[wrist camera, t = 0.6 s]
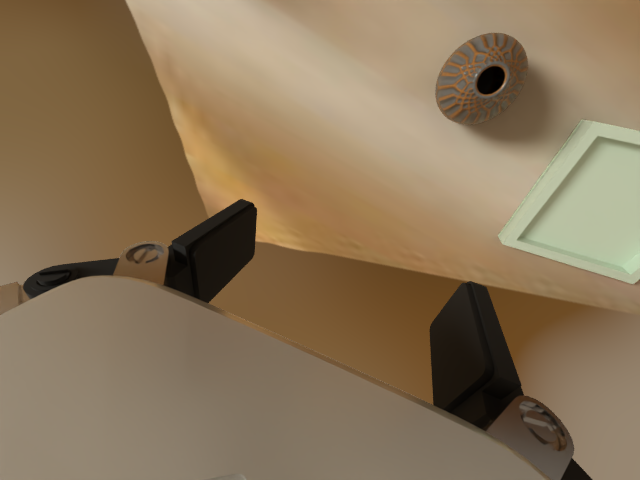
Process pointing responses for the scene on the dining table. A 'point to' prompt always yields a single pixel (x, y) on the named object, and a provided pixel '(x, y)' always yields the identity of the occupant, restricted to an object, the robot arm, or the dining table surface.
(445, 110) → the vase
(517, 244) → the tray
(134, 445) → the robot arm
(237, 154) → the dining table surface
